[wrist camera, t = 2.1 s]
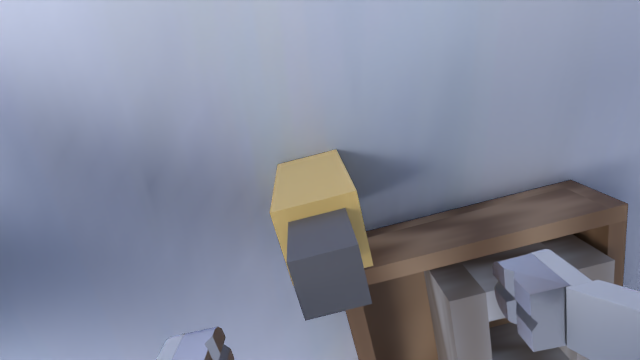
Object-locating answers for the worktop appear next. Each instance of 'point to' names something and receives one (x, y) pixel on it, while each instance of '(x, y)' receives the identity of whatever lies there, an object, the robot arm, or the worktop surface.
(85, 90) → the worktop surface
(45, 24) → the worktop surface
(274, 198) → the connector
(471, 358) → the walled box
